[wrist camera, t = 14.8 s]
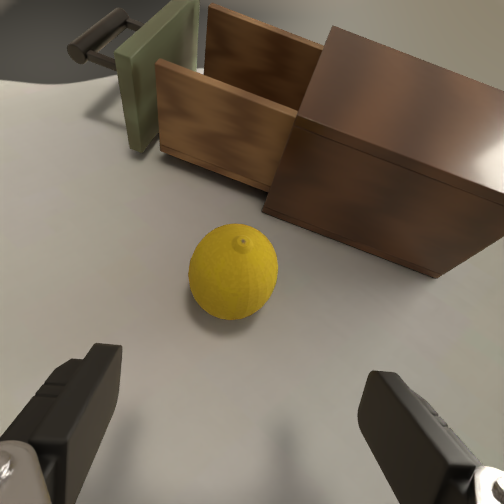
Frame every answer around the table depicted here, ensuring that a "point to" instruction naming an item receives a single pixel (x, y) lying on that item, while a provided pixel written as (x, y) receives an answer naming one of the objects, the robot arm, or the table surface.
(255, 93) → the drawer
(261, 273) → the lemon
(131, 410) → the table surface
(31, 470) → the robot arm
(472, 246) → the cabinet
